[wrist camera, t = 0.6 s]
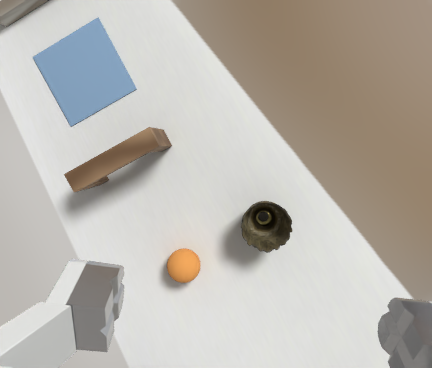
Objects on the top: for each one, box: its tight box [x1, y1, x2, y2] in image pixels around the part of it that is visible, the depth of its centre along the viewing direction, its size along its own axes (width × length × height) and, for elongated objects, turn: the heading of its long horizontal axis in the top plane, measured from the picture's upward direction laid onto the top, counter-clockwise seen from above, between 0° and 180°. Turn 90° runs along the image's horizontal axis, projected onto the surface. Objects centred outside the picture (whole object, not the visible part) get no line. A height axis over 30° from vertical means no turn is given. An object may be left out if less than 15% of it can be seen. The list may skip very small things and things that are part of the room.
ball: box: [167, 249, 200, 283], centre depth 58 cm, size 6×6×6 cm
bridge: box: [64, 127, 172, 192], centre depth 55 cm, size 3×14×9 cm, turn 118°
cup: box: [241, 201, 292, 253], centre depth 55 cm, size 7×7×8 cm
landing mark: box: [33, 18, 136, 126], centre depth 59 cm, size 13×13×1 cm
